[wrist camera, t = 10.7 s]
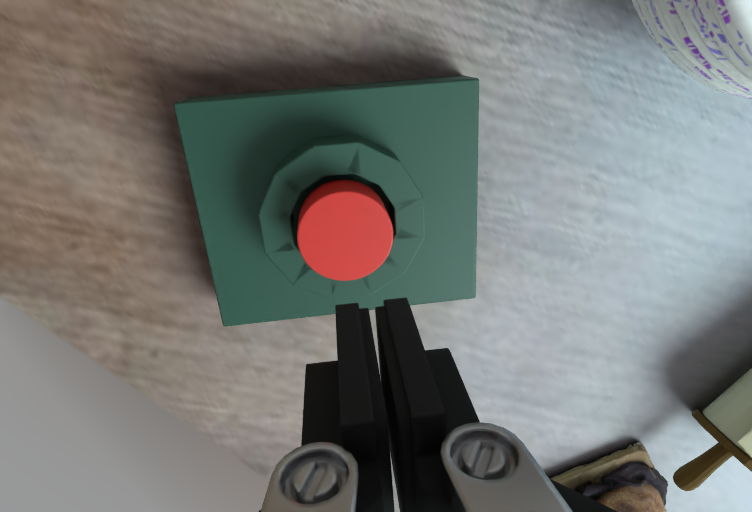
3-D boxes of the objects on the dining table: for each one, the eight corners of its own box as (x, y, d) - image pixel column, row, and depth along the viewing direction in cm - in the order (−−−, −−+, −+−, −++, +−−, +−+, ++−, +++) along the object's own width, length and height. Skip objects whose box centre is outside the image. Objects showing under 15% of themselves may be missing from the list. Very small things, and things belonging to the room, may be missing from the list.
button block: (230, 304, 25) (215, 349, 21) (186, 97, 21) (158, 108, 17) (463, 278, 26) (488, 317, 22) (464, 75, 22) (494, 81, 18)
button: (304, 267, 20) (303, 286, 19) (292, 183, 19) (290, 196, 17) (389, 258, 21) (395, 276, 19) (384, 174, 19) (390, 186, 18)
